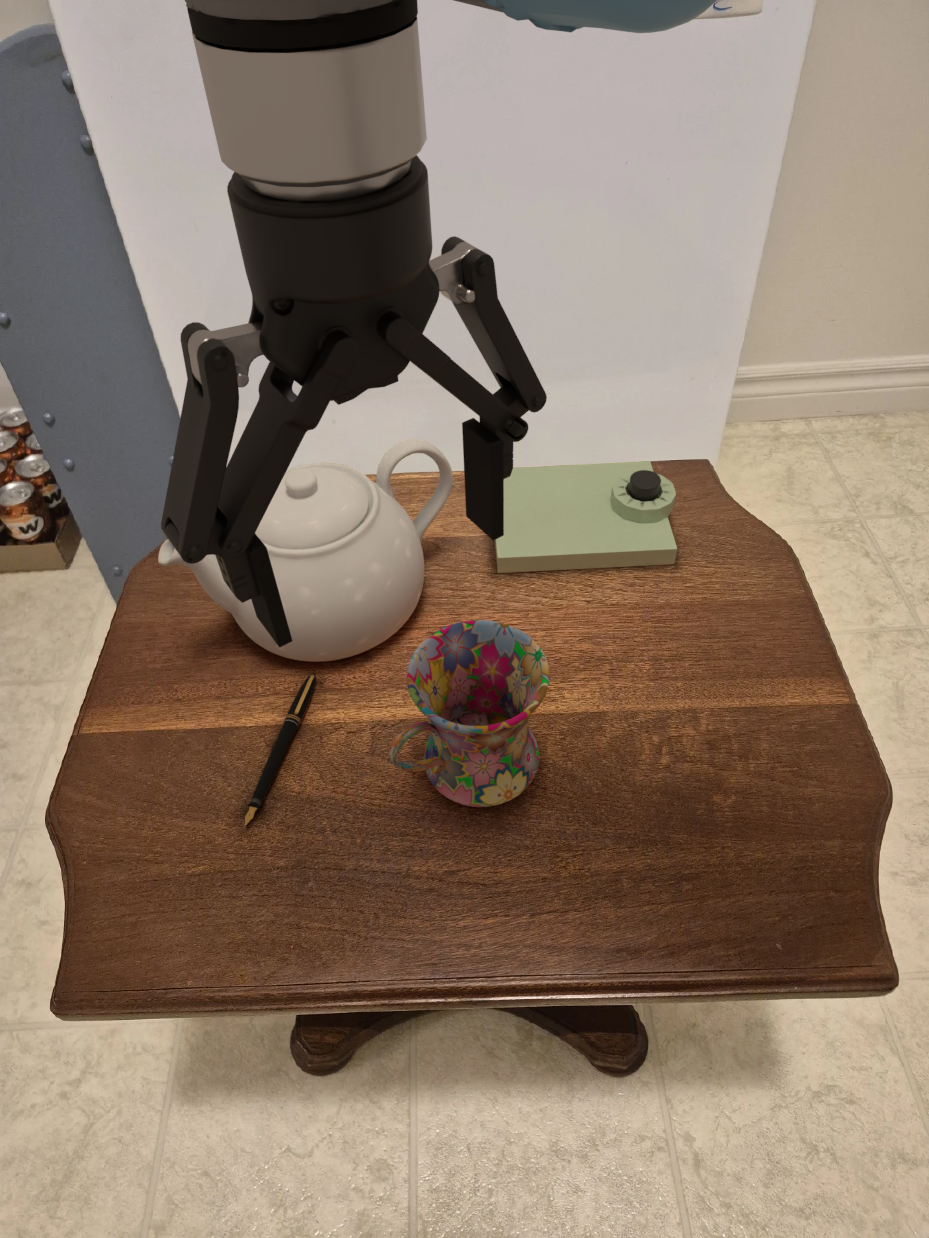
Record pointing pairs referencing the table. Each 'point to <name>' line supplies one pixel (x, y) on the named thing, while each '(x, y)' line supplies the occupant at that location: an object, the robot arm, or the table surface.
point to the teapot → (335, 557)
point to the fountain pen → (282, 744)
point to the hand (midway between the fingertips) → (385, 575)
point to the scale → (583, 519)
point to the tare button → (644, 485)
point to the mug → (476, 710)
